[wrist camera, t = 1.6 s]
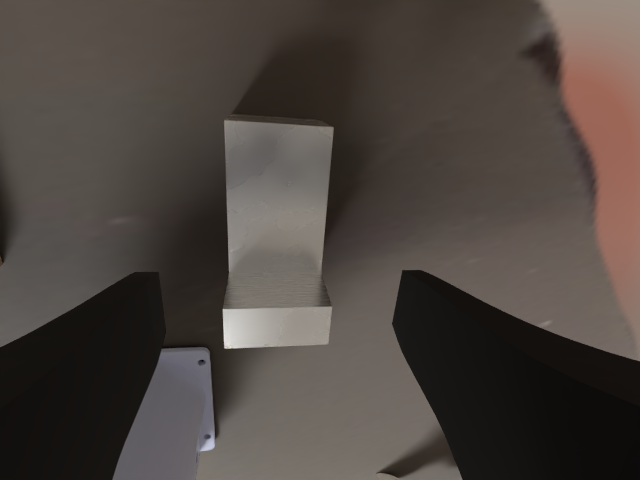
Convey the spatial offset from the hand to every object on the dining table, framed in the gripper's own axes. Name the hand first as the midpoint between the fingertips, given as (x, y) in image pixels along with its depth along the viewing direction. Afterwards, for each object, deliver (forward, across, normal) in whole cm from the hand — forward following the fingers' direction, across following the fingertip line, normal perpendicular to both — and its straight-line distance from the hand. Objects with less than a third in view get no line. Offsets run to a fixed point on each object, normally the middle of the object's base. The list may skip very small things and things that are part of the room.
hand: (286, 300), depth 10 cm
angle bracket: (+10, 0, 0) cm, 10 cm away
